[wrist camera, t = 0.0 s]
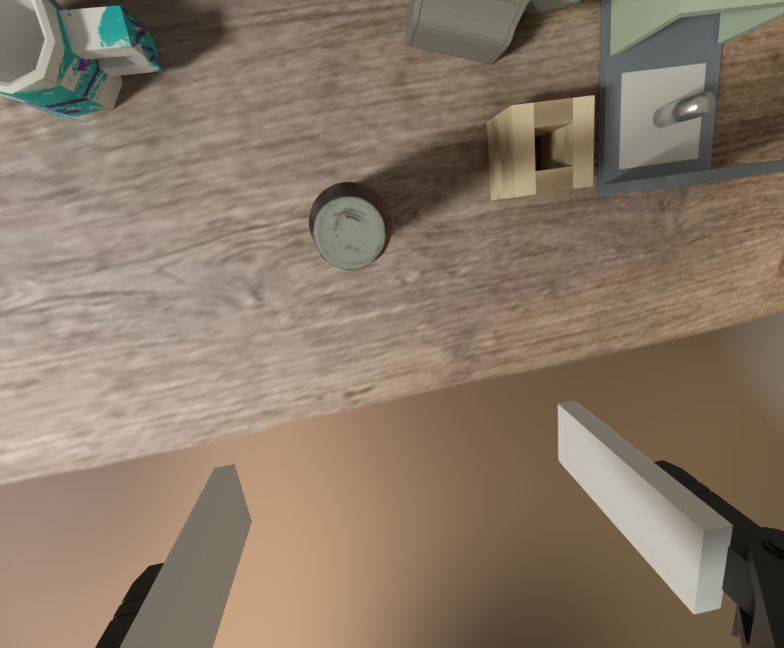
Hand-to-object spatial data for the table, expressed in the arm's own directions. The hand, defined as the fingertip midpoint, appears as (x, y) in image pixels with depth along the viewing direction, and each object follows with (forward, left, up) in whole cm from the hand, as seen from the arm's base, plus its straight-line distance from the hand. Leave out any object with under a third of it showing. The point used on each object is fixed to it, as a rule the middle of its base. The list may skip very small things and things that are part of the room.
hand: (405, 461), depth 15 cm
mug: (-25, -20, -28) cm, 43 cm away
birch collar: (-13, +19, -28) cm, 36 cm away
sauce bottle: (-9, 0, -28) cm, 30 cm away
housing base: (-21, +33, -28) cm, 48 cm away
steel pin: (-15, +33, -28) cm, 46 cm away
